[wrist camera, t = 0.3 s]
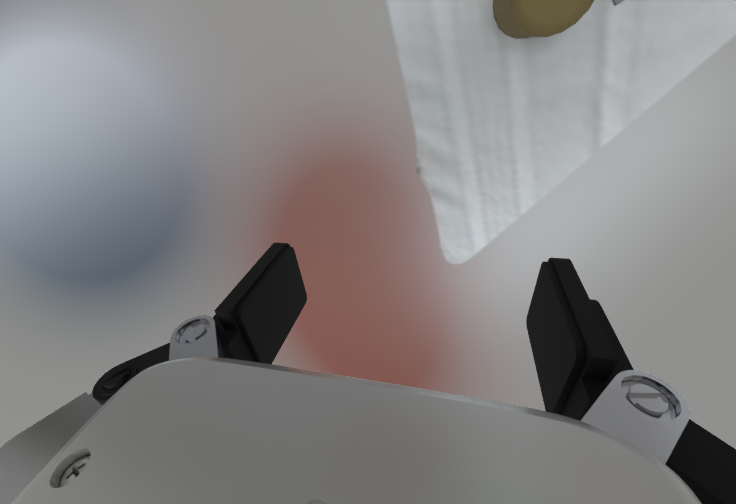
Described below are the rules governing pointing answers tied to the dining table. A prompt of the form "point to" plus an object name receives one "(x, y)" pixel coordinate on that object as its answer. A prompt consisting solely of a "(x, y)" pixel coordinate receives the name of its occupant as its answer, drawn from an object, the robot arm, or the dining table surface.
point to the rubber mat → (617, 2)
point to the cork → (538, 16)
